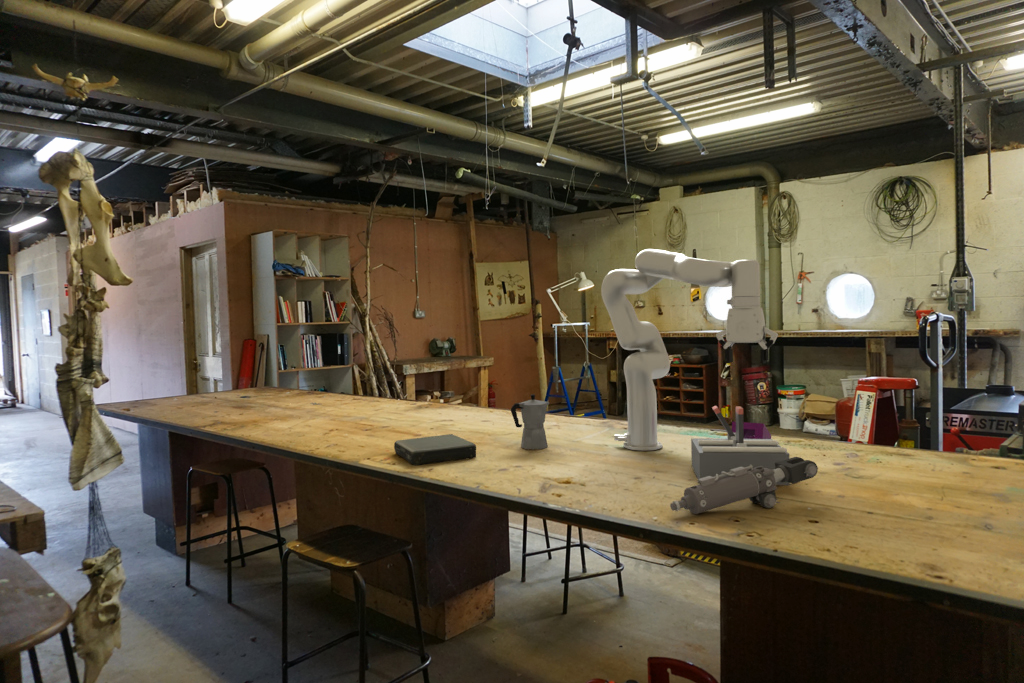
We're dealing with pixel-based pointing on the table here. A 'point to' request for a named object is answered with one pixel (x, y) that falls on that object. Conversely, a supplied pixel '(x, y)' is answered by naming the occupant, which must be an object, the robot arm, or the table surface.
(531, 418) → the coffeepot
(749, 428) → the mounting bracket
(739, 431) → the lever
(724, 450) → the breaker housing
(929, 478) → the table surface
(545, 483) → the table surface
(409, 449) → the network switch
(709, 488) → the hydraulic cylinder
